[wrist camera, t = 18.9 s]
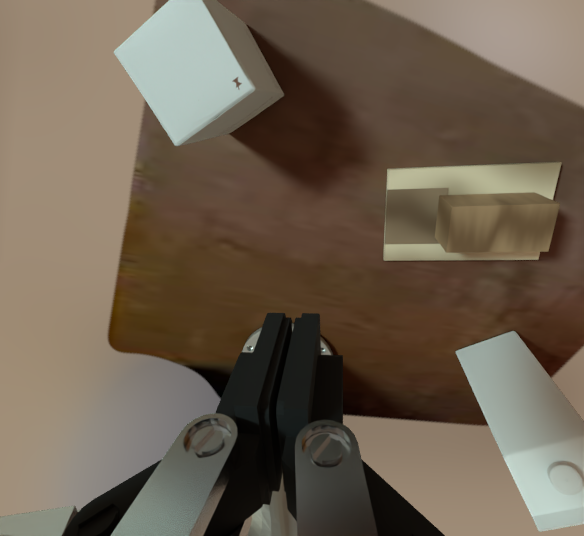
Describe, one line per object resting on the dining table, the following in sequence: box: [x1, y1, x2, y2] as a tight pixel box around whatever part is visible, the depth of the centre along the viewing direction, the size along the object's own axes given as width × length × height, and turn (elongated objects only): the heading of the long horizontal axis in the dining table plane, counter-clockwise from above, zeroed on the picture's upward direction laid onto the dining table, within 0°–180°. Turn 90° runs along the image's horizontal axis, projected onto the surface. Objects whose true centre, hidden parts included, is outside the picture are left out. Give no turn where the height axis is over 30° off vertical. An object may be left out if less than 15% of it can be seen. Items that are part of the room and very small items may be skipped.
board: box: [383, 162, 561, 261], centre depth 37 cm, size 10×16×1 cm, turn 94°
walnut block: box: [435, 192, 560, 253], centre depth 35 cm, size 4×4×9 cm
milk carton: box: [456, 331, 584, 531], centre depth 36 cm, size 7×7×19 cm
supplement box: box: [114, 0, 284, 146], centre depth 29 cm, size 7×7×13 cm
